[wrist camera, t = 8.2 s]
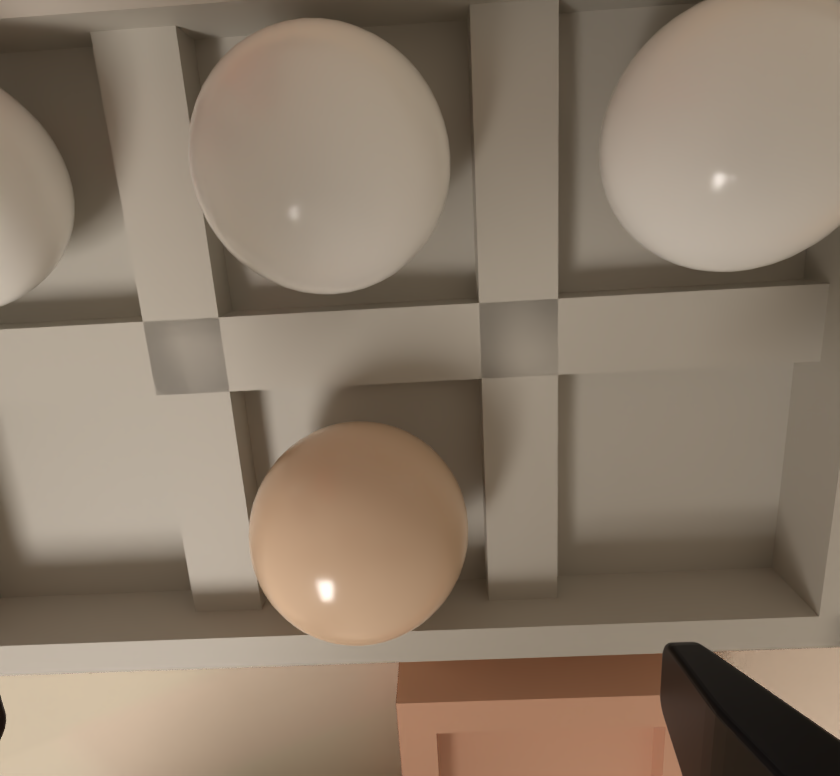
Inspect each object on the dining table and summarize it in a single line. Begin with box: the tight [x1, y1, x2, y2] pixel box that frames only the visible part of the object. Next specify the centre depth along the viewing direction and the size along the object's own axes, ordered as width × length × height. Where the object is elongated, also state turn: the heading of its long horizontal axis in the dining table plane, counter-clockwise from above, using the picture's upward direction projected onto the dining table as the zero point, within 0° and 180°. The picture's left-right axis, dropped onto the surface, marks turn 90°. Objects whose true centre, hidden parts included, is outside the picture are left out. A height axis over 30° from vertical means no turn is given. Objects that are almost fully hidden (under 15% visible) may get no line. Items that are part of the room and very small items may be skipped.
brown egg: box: [248, 421, 468, 646], centre depth 12 cm, size 4×4×4 cm
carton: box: [0, 0, 840, 676], centre depth 13 cm, size 14×21×2 cm, turn 94°
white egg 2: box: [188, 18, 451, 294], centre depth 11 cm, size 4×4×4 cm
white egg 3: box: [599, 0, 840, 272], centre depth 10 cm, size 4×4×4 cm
